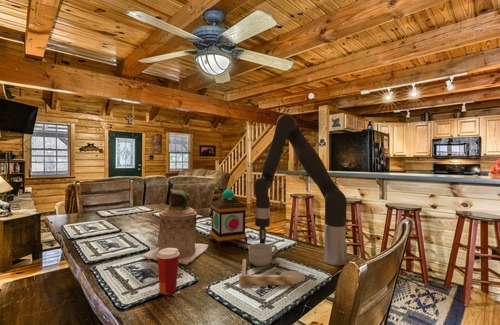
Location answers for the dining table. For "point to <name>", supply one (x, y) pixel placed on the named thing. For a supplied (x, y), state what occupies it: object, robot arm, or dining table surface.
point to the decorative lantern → (228, 219)
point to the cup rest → (264, 278)
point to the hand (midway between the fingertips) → (262, 250)
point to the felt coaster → (295, 276)
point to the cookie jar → (178, 229)
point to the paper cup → (168, 270)
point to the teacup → (261, 254)
